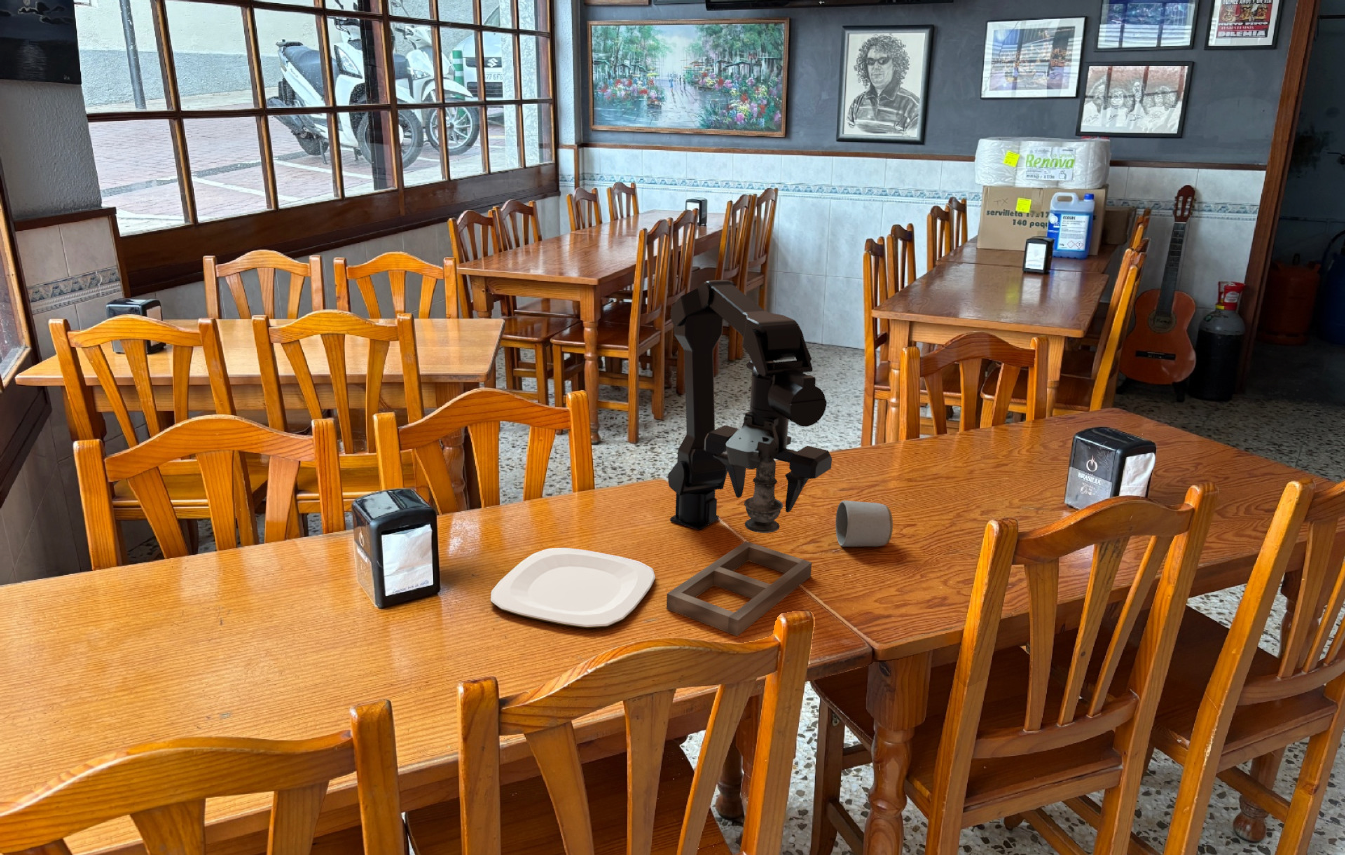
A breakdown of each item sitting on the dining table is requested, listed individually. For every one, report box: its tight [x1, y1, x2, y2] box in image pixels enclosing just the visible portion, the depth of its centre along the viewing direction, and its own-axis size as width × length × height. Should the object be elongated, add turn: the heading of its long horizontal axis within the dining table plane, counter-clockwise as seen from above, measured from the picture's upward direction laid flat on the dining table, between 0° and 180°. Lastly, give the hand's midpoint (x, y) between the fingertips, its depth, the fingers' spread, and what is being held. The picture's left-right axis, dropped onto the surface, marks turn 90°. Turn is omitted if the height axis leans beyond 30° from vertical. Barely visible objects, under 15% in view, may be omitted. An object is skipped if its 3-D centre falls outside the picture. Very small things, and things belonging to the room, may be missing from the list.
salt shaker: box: [743, 459, 784, 534], centre depth 137 cm, size 6×6×12 cm
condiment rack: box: [665, 541, 813, 637], centre depth 138 cm, size 12×22×2 cm, turn 145°
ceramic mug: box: [835, 500, 894, 547], centre depth 156 cm, size 11×8×8 cm
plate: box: [490, 547, 656, 629], centre depth 137 cm, size 22×22×2 cm
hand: (763, 504), depth 138 cm, fingers closed on salt shaker, 8 cm apart
